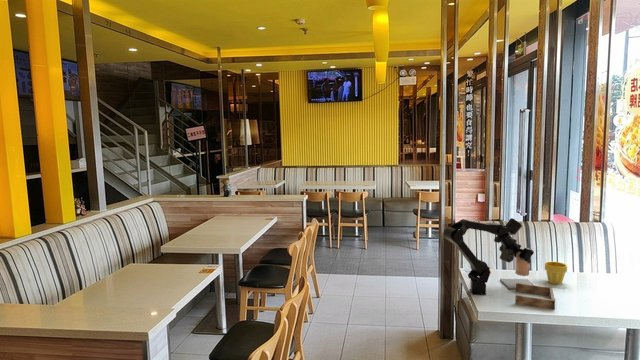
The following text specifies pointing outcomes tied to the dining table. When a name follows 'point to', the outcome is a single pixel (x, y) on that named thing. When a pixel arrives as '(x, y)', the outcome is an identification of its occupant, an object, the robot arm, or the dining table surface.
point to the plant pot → (555, 271)
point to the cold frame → (532, 300)
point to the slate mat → (514, 283)
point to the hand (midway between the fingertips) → (525, 261)
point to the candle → (521, 266)
